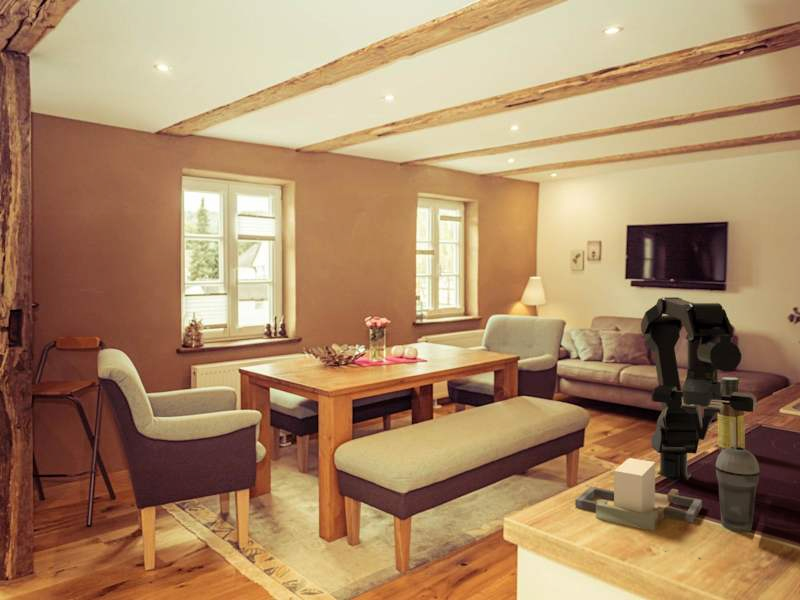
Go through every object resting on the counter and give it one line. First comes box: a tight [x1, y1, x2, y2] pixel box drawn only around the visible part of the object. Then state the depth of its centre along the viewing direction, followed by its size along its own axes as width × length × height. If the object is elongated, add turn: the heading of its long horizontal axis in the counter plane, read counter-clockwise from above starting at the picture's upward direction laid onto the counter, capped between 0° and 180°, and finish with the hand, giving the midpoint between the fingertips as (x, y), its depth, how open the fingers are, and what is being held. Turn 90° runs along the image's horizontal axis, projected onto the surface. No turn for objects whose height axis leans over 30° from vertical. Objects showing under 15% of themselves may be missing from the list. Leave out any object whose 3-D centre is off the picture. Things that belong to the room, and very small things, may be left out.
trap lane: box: [574, 486, 703, 532], centre depth 120 cm, size 21×20×4 cm
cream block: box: [613, 457, 656, 513], centre depth 117 cm, size 10×5×9 cm, turn 144°
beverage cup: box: [714, 422, 761, 533], centre depth 110 cm, size 7×7×20 cm
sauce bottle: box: [717, 376, 746, 453], centre depth 160 cm, size 6×6×20 cm
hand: (701, 439), depth 125 cm, fingers closed
